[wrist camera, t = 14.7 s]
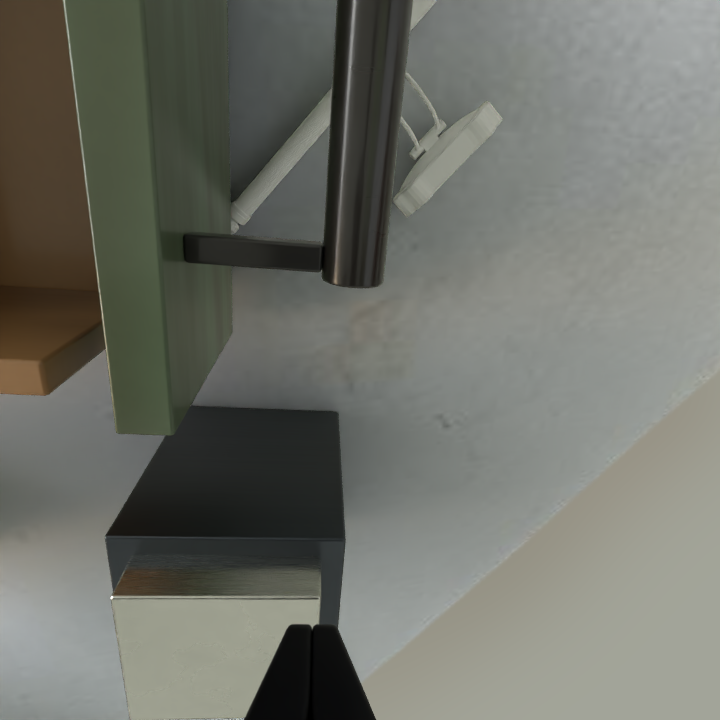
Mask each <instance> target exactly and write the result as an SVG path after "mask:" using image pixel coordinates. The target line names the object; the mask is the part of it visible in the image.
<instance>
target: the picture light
mask: <svg viewBox="0 0 720 720" xmlns="http://www.w3.org/2000/svg"><path fill="white" fill-rule="evenodd" d="M436 1H437V0H413V7H412V16H411V25H410V31H411V30H412V29H413V28H414V27H415V26H416V24H417V23H418V22H419V21H420V20H421V19H422V17H423V16H424V15H425V14H426V13H427V12H428V11H429V9H430V8H431V7H432V6H433V5H434V4H435V2H436ZM405 78H406V79H407V80H408V81H409V82H410V84H411V85H412V86H413V87H414V88H415V90H416V91H417V92H418V93H419V95H420V96H421V98H422V99H423V100H424V102H425V103H426V105H427V107H428V108H429V110H430V112H431V114H432V116H433V118H434V120H435V125H434V126H433V127H432V128H431V129H430V130H429V131H428V132H427V134H426V135H425V136H424V137H423V138H422V139H421V140H420V141H419V142H418V141H417V139H416V137H415V135H414V133H413V132H412V130H411V129H410V127H409V126H408V124H407V123H406V122H405V120H404V119H403V118H402V116H401V120H400V122H401V124H402V125H403V126H404V128H405V129H406V131H407V132H408V134H409V135H410V137H411V138H412V140H413V142H414V144H415V146H414V148H413V149H412V150H411V151H410V152H409V155H410V156H411V158H413V159H414V160H416V159H417V157H418V156H419V155H420V154H421V153H422V152H423V151H425V153H424V154H423V155H422V157H421V158H420V159H419V160H418V162H417V163H416V164H415V166H414V167H413V168H412V170H411V171H410V173H409V174H408V176H407V177H406V179H405V181H404V183H403V184H402V187H401V189H400V191H399V192H398V193H397V194H396V196H395V197H394V198H393V203H394V204H395V205H396V206H397V207H398V208H399V209H400V210H401V211H402V213H403V214H404V215H405V216H406V217H409V216H410V215H412V214H413V213H414V212H415V211H416V210H417V209H419V208H420V207H422V206H423V205H424V204H425V203H426V202H427V201H428V200H429V199H430V198H431V197H432V195H433V194H434V193H435V192H436V191H437V190H438V189H439V188H440V187H441V186H442V185H443V184H444V183H445V182H446V180H447V179H448V178H449V177H450V176H451V175H452V174H453V173H454V172H455V171H456V170H457V169H458V168H459V167H460V166H461V165H462V164H463V163H464V162H465V161H466V160H467V159H468V158H469V157H470V156H471V155H472V154H473V153H474V152H475V151H476V150H477V148H479V147H480V146H481V145H482V144H483V143H484V142H485V141H486V140H487V139H488V138H489V137H490V136H491V135H492V134H493V133H494V131H495V130H496V128H497V126H498V125H499V124H500V123H501V122H502V120H503V119H502V118H501V116H500V115H499V114H498V112H497V111H496V110H495V109H494V107H493V106H492V105H491V103H490V102H484V103H483V104H482V105H481V106H480V107H479V108H478V109H477V110H475V111H473V112H471V113H469V114H467V115H466V116H464V117H463V118H462V119H460V120H459V121H457V122H456V123H455V124H454V125H452V126H451V127H450V128H449V129H448V130H446V131H445V132H444V133H443V134H442V135H441V136H440V137H438V135H439V134H440V133H441V132H442V131H443V130H444V129H445V128H446V124H445V122H444V121H443V120H441V119H440V120H439V119H438V117H437V114H436V112H435V110H434V108H433V106H432V104H431V103H430V101H429V100H428V98H427V97H426V95H425V94H424V92H423V91H422V90H421V88H420V87H419V86H418V84H417V83H416V82H415V81H414V80H413V78H412V77H411V76H410V75H409V74H408V73H407V72H406V73H405ZM331 96H332V88H331V89H330V90H329V91H328V92H327V94H326V95H325V96H324V97H323V98H322V99H321V101H320V102H319V103H318V104H317V105H316V107H315V108H314V109H313V110H312V111H311V112H310V114H309V115H308V116H307V117H306V118H305V120H304V121H303V122H302V123H301V124H300V125H299V127H298V128H297V129H296V130H295V131H294V132H293V134H292V135H291V136H290V137H289V138H288V140H287V141H286V142H285V143H284V144H283V145H282V147H281V148H280V149H279V150H278V151H277V153H276V154H275V155H274V156H273V157H272V158H271V160H270V161H269V162H268V163H267V164H266V166H265V167H264V168H263V169H262V170H261V171H260V173H259V174H258V175H257V176H256V177H255V178H254V180H253V181H252V182H251V183H250V184H249V186H248V187H247V188H246V189H245V190H244V191H243V193H242V194H241V195H240V196H239V197H238V199H237V200H236V201H233V202H232V203H231V235H232V233H235V232H237V231H238V229H239V226H238V224H237V223H240V224H241V225H245V224H246V223H247V222H248V221H249V220H250V218H251V215H252V214H253V213H254V212H255V210H256V209H257V208H258V207H259V206H260V205H261V203H262V202H263V201H264V200H265V199H266V198H267V197H268V195H269V194H270V193H271V192H272V191H273V190H274V188H275V187H276V186H277V185H278V184H279V183H280V182H281V180H282V179H283V178H284V177H285V176H286V175H287V173H288V172H289V171H290V170H291V169H292V168H293V167H294V165H295V164H296V163H297V162H298V161H299V160H300V158H301V157H302V156H303V155H304V154H305V153H306V151H307V150H308V149H309V148H310V147H311V146H312V145H313V143H314V142H315V141H316V140H317V139H318V138H319V136H320V135H321V134H322V133H323V132H324V131H325V130H326V128H327V127H328V126H329V125H330V113H331Z"/></svg>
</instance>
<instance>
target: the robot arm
mask: <svg viewBox="0 0 720 720" xmlns="http://www.w3.org/2000/svg"><path fill="white" fill-rule="evenodd" d="M244 720H376V719H375V716H374V714H373V711H372V709H371V707H370V704H369V702H368V699H367V697H366V695H365V692H364V690H363V688H362V685H361V683H360V680H359V678H358V676H357V673H356V671H355V668H354V666H353V664H352V661H351V659H350V657H349V654H348V652H347V649H346V647H345V645H344V642H343V640H342V638H341V635H340V633H339V630H338V629H337V627H336V626H335V625H333V624H316V625H314V626H313V629H312V627H311V625H309V624H291V625H289V626H288V628H287V629H286V631H285V633H284V636H283V638H282V640H281V642H280V644H279V646H278V648H277V650H276V653H275V655H274V657H273V659H272V661H271V663H270V665H269V667H268V670H267V672H266V674H265V676H264V678H263V680H262V682H261V684H260V687H259V689H258V691H257V693H256V695H255V697H254V699H253V701H252V704H251V706H250V708H249V710H248V712H247V714H246V716H245V718H244Z"/></svg>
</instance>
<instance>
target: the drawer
mask: <svg viewBox="0 0 720 720" xmlns="http://www.w3.org/2000/svg"><path fill="white" fill-rule="evenodd" d="M412 7H413V0H337V6H336V24H335V42H334V60H333V78H332V96H331V113H330V131H329V149H328V167H327V185H326V202H325V220H324V238H323V244H322V242H320V241H307V240H295V239H282V238H269V237H256V236H244V235H231V202H230V137H229V72H228V7H227V0H0V394H18V395H41V396H45V395H48V394H50V393H51V392H53V391H54V390H55V389H56V388H58V387H59V386H60V385H61V384H62V383H64V382H65V381H66V380H67V379H69V378H70V377H71V376H72V375H74V374H75V373H76V372H77V371H79V370H80V369H81V368H82V367H84V366H85V365H86V364H87V363H88V362H90V361H91V360H92V359H93V358H95V357H96V356H97V355H98V354H100V353H101V352H102V351H103V350H105V349H106V356H107V364H108V372H109V381H110V389H111V397H112V405H113V413H114V421H115V429H116V433H118V434H141V435H168V436H171V435H174V434H175V432H176V430H177V428H178V427H179V425H180V423H181V421H182V420H183V418H184V416H185V414H186V413H187V411H188V409H189V407H190V406H191V404H192V402H193V400H194V399H195V397H196V395H197V393H198V392H199V390H200V388H201V386H202V385H203V383H204V381H205V379H206V378H207V376H208V374H209V372H210V371H211V369H212V367H213V366H214V364H215V362H216V360H217V359H218V357H219V355H220V353H221V352H222V350H223V348H224V346H225V345H226V343H227V341H228V339H229V338H230V336H231V334H232V267H231V266H237V267H251V268H265V269H279V270H293V271H306V272H321V270H322V274H321V277H322V280H323V281H325V282H327V283H329V284H332V285H336V286H341V287H348V288H374V287H378V286H381V285H382V283H383V280H384V271H385V261H386V252H387V242H388V233H389V224H390V214H391V205H392V195H393V186H394V176H395V167H396V158H397V148H398V139H399V129H400V120H401V110H402V101H403V92H404V82H405V73H406V63H407V54H408V44H409V35H410V25H411V16H412Z"/></svg>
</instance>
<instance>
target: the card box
mask: <svg viewBox="0 0 720 720" xmlns="http://www.w3.org/2000/svg"><path fill="white" fill-rule="evenodd" d="M345 541H346V538H345V520H344V502H343V485H342V467H341V449H340V431H339V414H338V412H328V411H302V410H276V409H250V408H224V407H198V406H190V407H189V409H188V411H187V413H186V414H185V416H184V418H183V420H182V421H181V423H180V425H179V427H178V428H177V430H176V432H175V434H174V435H171V436H168V435H166V436H165V438H164V440H163V441H162V443H161V444H160V446H159V448H158V449H157V451H156V453H155V454H154V456H153V458H152V459H151V461H150V463H149V464H148V466H147V468H146V469H145V471H144V473H143V474H142V476H141V478H140V479H139V481H138V483H137V484H136V486H135V488H134V489H133V491H132V493H131V494H130V496H129V497H128V499H127V501H126V502H125V504H124V506H123V507H122V509H121V511H120V512H119V514H118V516H117V517H116V519H115V521H114V522H113V524H112V526H111V527H110V529H109V531H108V532H107V534H106V536H105V542H106V548H107V554H108V561H109V567H110V574H111V580H112V587H113V594H112V596H111V604H112V610H113V617H114V623H115V629H116V636H117V642H118V648H119V655H120V661H121V667H122V674H123V680H124V686H125V692H126V699H127V705H128V711H129V718H130V720H170V719H212V718H245V716H246V714H247V712H248V710H249V708H250V706H251V704H252V701H253V699H254V697H255V695H256V693H257V691H258V689H259V687H260V684H261V682H262V680H263V678H264V676H265V674H266V672H267V670H268V667H269V665H270V663H271V661H272V659H273V657H274V655H275V653H276V650H277V648H278V646H279V644H280V642H281V640H282V638H283V636H284V633H285V631H286V629H287V628H288V626H289V625H291V624H309V625H311V627H312V629H313V626H314V625H316V624H333V625H335V626H336V627H337V629H338V620H339V609H340V598H341V586H342V575H343V564H344V552H345Z"/></svg>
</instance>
